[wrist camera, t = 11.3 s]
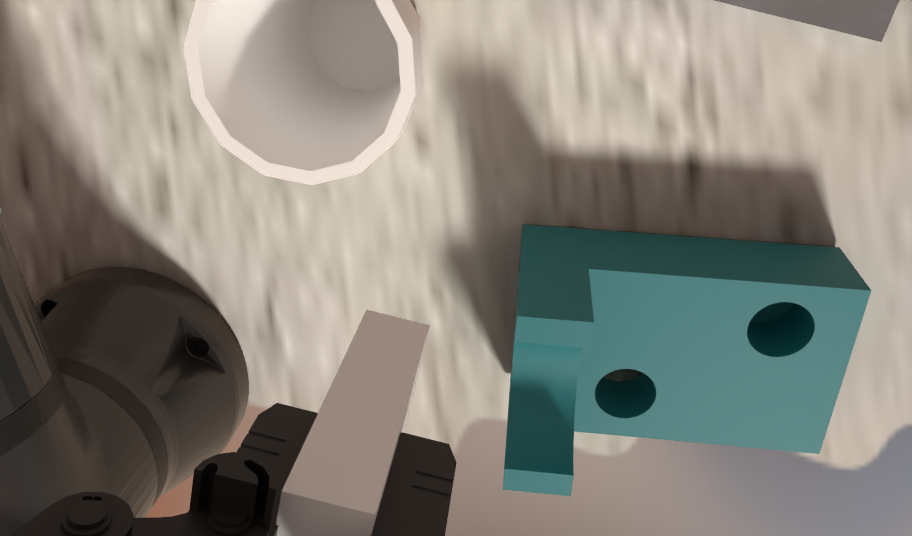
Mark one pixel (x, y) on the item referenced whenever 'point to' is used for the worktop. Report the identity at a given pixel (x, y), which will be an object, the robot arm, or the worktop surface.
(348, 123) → the foam cup
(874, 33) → the bolt plate
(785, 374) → the teal l-shaped bracket
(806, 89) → the worktop surface
